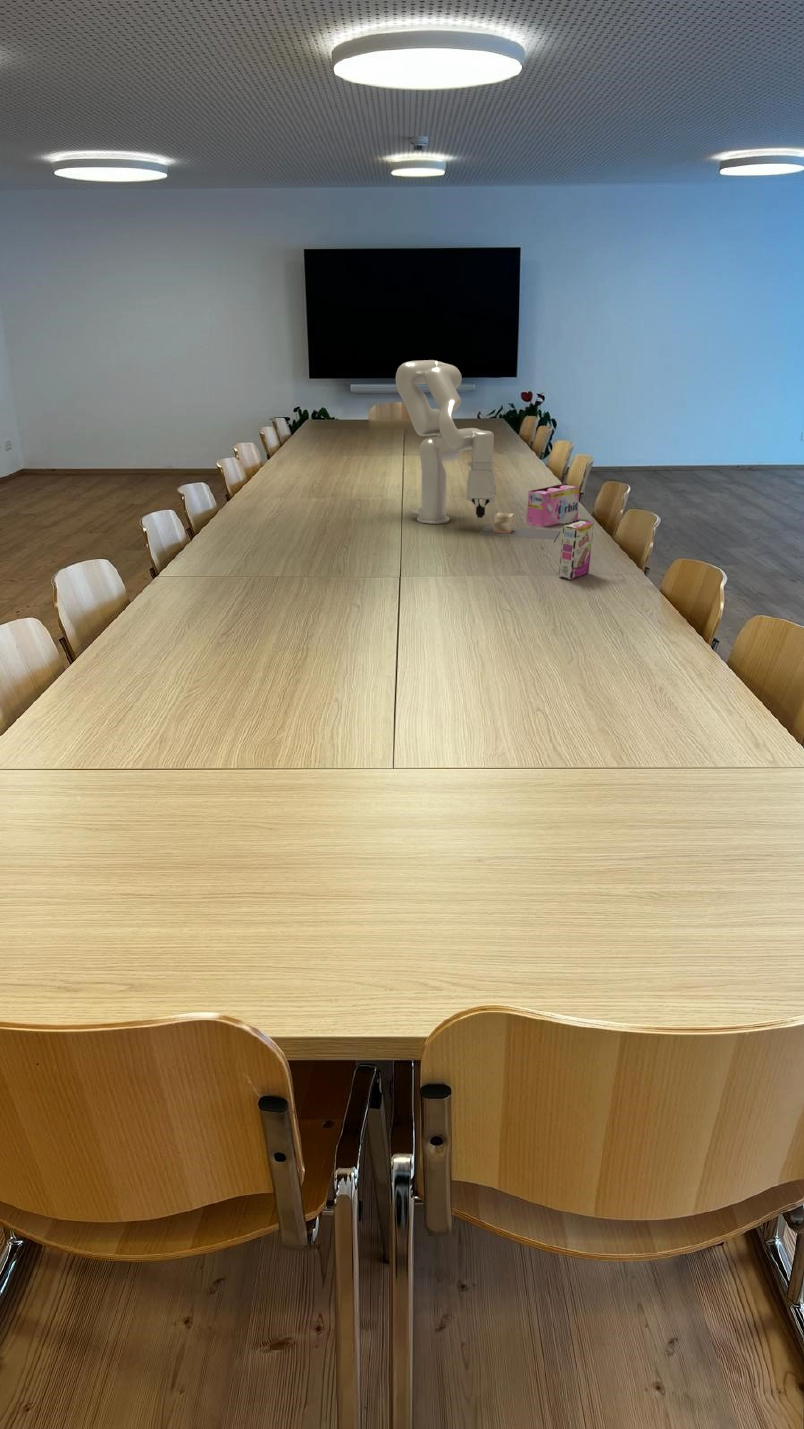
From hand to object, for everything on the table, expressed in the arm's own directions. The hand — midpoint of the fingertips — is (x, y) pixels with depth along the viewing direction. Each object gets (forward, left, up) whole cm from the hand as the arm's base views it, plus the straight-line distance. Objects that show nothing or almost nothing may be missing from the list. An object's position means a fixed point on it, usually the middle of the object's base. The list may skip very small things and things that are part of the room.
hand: (480, 517), depth 359 cm
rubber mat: (+15, 0, -6) cm, 16 cm away
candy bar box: (+41, -49, -6) cm, 64 cm away
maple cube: (+9, 0, -5) cm, 10 cm away
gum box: (+24, +23, -6) cm, 33 cm away
